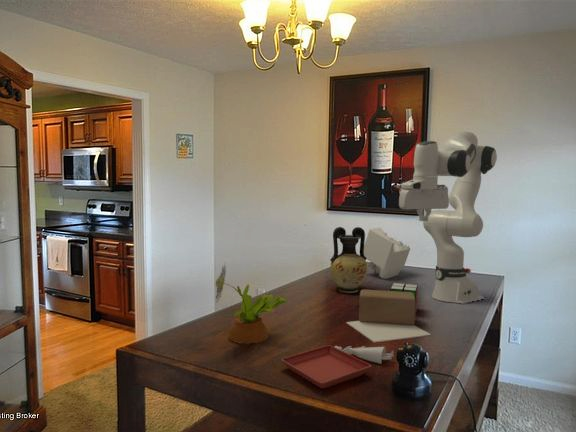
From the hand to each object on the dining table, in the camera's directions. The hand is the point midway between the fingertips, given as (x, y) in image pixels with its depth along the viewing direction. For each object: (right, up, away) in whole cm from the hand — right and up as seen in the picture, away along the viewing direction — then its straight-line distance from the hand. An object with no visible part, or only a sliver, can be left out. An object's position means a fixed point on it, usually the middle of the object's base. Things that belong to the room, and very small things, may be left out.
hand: (423, 221), depth 172 cm
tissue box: (+1, -31, +72) cm, 78 cm away
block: (-5, -32, -5) cm, 33 cm away
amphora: (-23, -33, +41) cm, 58 cm away
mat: (-16, -38, -11) cm, 43 cm away
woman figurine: (-29, -41, -36) cm, 62 cm away
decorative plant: (-64, -39, -22) cm, 78 cm away
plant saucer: (-41, -42, -46) cm, 75 cm away
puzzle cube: (-5, -37, +10) cm, 38 cm away
